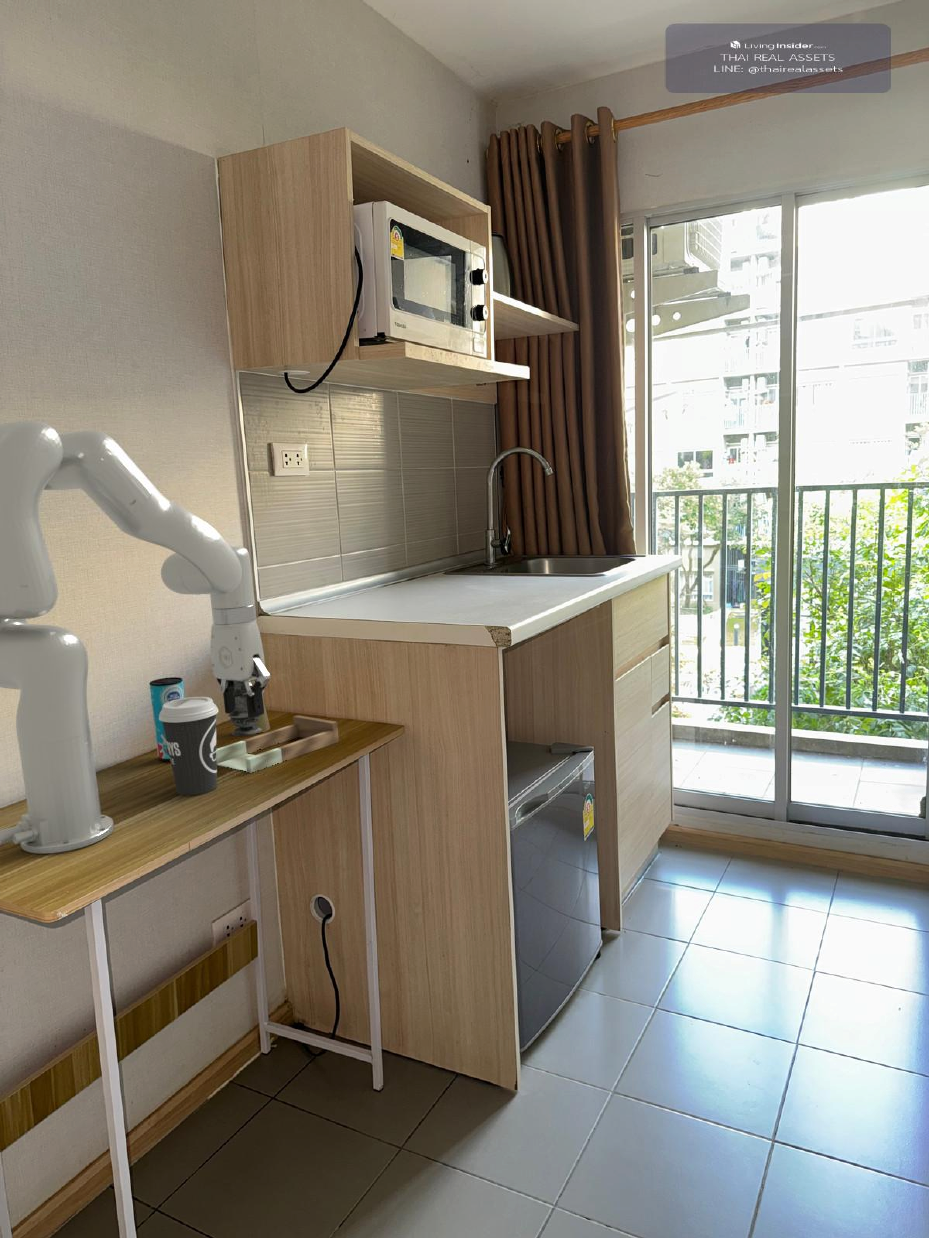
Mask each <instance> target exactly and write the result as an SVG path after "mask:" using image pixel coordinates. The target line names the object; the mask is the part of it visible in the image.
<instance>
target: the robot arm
mask: <svg viewBox="0 0 929 1238" xmlns="http://www.w3.org/2000/svg"><path fill="white" fill-rule="evenodd" d="M76 489H80V490H82V491H83V492H84V493H85V494H86V495H87V497H88V498H90V500H92V501H93V502H94V503H95V504H96V505H97V506H98V507H99V509H101V511H102V512H103V513H104V514H105V515H106V516H107V517H108V518H109V519H110V520H111V521H112V522H113V523H114V524H115V525H116V527H117V528H119V530H120V531H121V532H123V533H125V534H126V535H129V536H131V537H133V538H135V539H138V540H141V541H144V542H147V543H150V544H154V545H156V546H160V547H163V548H165V549H167V550H170V551H171V552H174V553H172V554H171V555H169V556H168V557H167V558H166V559H165V560H164V561H163V563H162V566H161V569H160V575H161V580H162V582H163V584H164V585H165V587H166V588H167V589H168V590H170V591H172V592H174V593H176V594H181V595H198V596H199V595H209V596H210V598H209V599H210V605H211V607H210V608H211V615H212V624H211V627H210V628H211V630H210V658H211V659H210V660H211V672H212V674H213V676H214V677H215V678H216V681H217V682H218V684H219V686H220V691H221V692H222V693H223V694H222V695H223V696H222V697H223V703H224V704H223V706H224V712H225V714H229V713H231V712H233V711H234V710H235V696H234V695H233V693H234V692H235V691H234V682H233V681H240V682H243V681H244V683H245V686H246V689H247V692H248V695H249V696H246V701H247V710H248V717H250V718H253V717H256V716H259V715H263V714H264V705H265V704H264V705H263V700H264V693H265V688H266V686H267V684H268V682H269V681H270V679H271V674H270V672H269V671H268V669H267V668H266V662H265V661H266V660H265V655H264V654H265V653H264V648H263V643H262V638H261V633H260V629H259V626H258V623H257V615H256V614H257V612H256V604H255V594H254V585H253V577H252V576H253V575H252V565H251V557H250V553H249V551H248V549H247V548H246V547H243V546H230V545H229V543H228V542H227V541H226V540H225V539H224V538H223V537H222V535H221V534H220V533H219V532H218V531H217V530H216V528H214V527H213V526H211V525H210V524H209V523H208V522H206V521H205V520H203V519H202V518H201V517H199V516H198V515H195V514H193V513H192V512H190V511H189V510H187V509H186V508H184V507H182V506H181V505H180V504H177V503H176V502H174V501H172V500H170V499H168V498H166V496H165V495H163V494H162V493H161V492H160V491H159V490H158V488H157V487H156V486H155V485H154V483H153V482H152V481H151V480H150V479H149V478H148V477H147V475H145V473H144V472H143V471H142V470H141V468H139V466H137V464H136V463H135V461H133V460H132V458H131V457H130V455H128V454H127V453H126V452H125V450H124V449H123V448H122V447H121V445H119V444H118V442H117V441H116V440H115V439H113V438H112V437H111V436H109V435H108V434H107V433H105V432H102V431H99V430H81V431H80V430H79V431H72V432H66V433H58V432H57V431H56V429H55V428H53V427H52V425H49V424H47V423H46V422H43V421H39V420H38V421H37V420H16V421H11V422H10V421H9V422H4V423H0V688H1V689H7V690H8V689H11V690H19V691H20V694H19V700H18V705H17V710H16V714H15V727H16V737H17V741H18V743H17V744H18V749H19V750H18V751H19V756H20V765H21V770H22V777H23V785H24V792H25V798H26V807H27V813H25V814H22V815H21V821H19V822H17V823H16V825H15V826H12V827H10V828H9V827H7V828H4V829H1V830H0V845H4V844H7V843H10V842H13V843H14V844H15V845H17V844H20V848H21V849H22V850H23V851H25V852H26V853H27V852H28V853H31V854H42V855H43V854H45V855H46V854H57V853H64V852H69V851H73V850H78V849H81V848H84V847H88V846H90V845H94V844H95V843H97V842H100V841H102V840H104V839H105V838H107V837H108V836H109V835H111V834H112V832H113V831H114V828H115V826H114V820H113V818H112V817H110V816H108V815H104V814H102V812H101V811H102V810H101V803H100V797H99V796H100V794H99V787H98V781H97V774H96V772H97V771H96V765H95V757H94V749H93V742H92V734H91V727H90V720H89V719H90V718H89V712H88V711H89V710H88V709H89V708H88V696H87V695H88V694H87V691H88V690H87V689H88V687H87V686H88V676H89V655H88V651H87V648H86V646H85V644H84V642H83V641H82V639H81V637H79V636H78V635H77V634H76V633H74V632H73V631H71V630H70V629H67V628H64V627H61V626H58V625H57V626H56V625H50V624H48V625H47V624H28V622H27V620H29V619H35V618H39V617H42V616H44V615H47V614H48V613H49V612H50V611H51V610H52V609H53V608H54V607H55V606H56V604H57V600H58V595H59V590H58V584H57V579H56V575H55V572H54V568H53V565H52V564H53V563H52V562H51V558H50V554H49V551H48V548H47V544H46V541H45V537H44V534H43V530H42V525H41V521H40V520H41V519H40V513H39V511H40V510H39V508H40V501H41V498H42V494H43V492H44V491H62V490H63V491H66V490H76ZM251 681H255V684H254V685H253V686H252V684H251Z"/></svg>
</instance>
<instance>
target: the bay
mask: <svg viewBox="0 0 929 1238" xmlns="http://www.w3.org/2000/svg"><path fill="white" fill-rule="evenodd" d="M338 727H339V726H338V721H334V720H328V719H321V718H317V717H316V718H315V717H310V716H305V715H298V714H297V715H294V716H293V723H292V724H290V725H287V726H284V727H280V728H278V729H274V730H271V731H269V732H268V731H267V732H264V733H260V734H257V735H256V736H253V737H250V738H245V739H243V740H240V741H236V742H234V743H230V744H227V745H225V746H222V747H219V748H218V747H217V748H216V752H217V766H219V767H222V768H227V767H229V768H228V769H231V768H232V770H235V769H236V771H240V770H243V771H242V772H244V771H246V772H245V773H248V772H249V774H253V773H252V772H254V773H256V772H258V771H257V770H259V771H262V770H265V769H267V768H270V767H273V766H275V764H276V765H278V764H277V763H279V764H281V763H284V762H286V761H285V760H287V761H289V760H293V759H295V758H298V757H300V756H303V755H306V754H309V753H312V752H315V751H317V750H320V749H322V748H326V747H328V746H331V745H334V744H336V743H339V742H340V741H339V728H338ZM297 738H302V739H299V740H296V741H293V742H291V743H287V744H284V745H281V746H279V747H276V748H273V749H269V750H267V751H264V752H261V753H258V754H253V753H255V752H258V751H260V750H259V749H261V750H263V749H266V748H269V746H270V747H274V746H276V745H279V744H281V743H285V742H288V741H290V740H293V739H297ZM278 743H279V744H278ZM257 750H258V751H257ZM248 753H250V754H248ZM283 761H284V762H283ZM272 765H273V766H272ZM266 767H267V768H266ZM264 768H265V769H264ZM255 771H256V772H255Z"/></svg>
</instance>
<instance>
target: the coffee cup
mask: <svg viewBox="0 0 929 1238" xmlns="http://www.w3.org/2000/svg"><path fill="white" fill-rule="evenodd" d="M219 711H220V710H219V708H218V706H217V704H215V703H214V700H213V699H212V698H211V697H208V696H190V697H189V696H188V697H185V698H181V699H176V700H172V701H169V702H167V703H165V704H163V707H162V711H161V712H160V714H159V720H160V721H162V723H163V727H164V732H165V737H166V741H167V746H168V751H169V756H170V760H171V761H170V765H171V769H172V774H173V779H174V780H173V781H174V785H175V788H176V793H177V794H178V795H180V796H187V797H188V796H189V797H191V796H198V795H204V794H208V793H211V792H212V790H213V791H214V790H216V789H217V788H216V787H218V767H217V766H218V765H217V752H216V749H217V714H218V713H219ZM215 788H216V789H215Z"/></svg>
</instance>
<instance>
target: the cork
mask: <svg viewBox="0 0 929 1238" xmlns="http://www.w3.org/2000/svg"><path fill="white" fill-rule="evenodd" d="M251 684H252V686H253V685H254V684H255V681H251ZM263 705H264V714H263V715H260V718H259V721H258V722H257V724H255V725H253V726H258V727H260V728H261V729H262V730H261V731H260V732H264V733H267V732H268V730H269V729H270V730H271V726H270V722H269V719H268V713H267V710H266V705H265V701H264V699H263ZM270 730H269V731H270ZM266 731H267V732H266ZM260 732H259V733H260ZM260 734H261V733H260Z"/></svg>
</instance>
